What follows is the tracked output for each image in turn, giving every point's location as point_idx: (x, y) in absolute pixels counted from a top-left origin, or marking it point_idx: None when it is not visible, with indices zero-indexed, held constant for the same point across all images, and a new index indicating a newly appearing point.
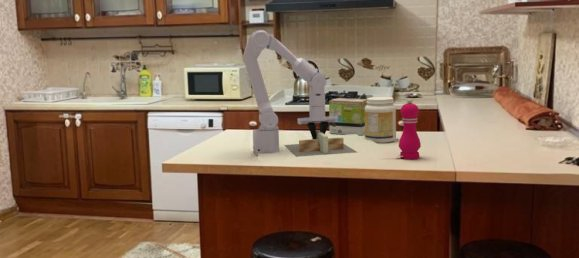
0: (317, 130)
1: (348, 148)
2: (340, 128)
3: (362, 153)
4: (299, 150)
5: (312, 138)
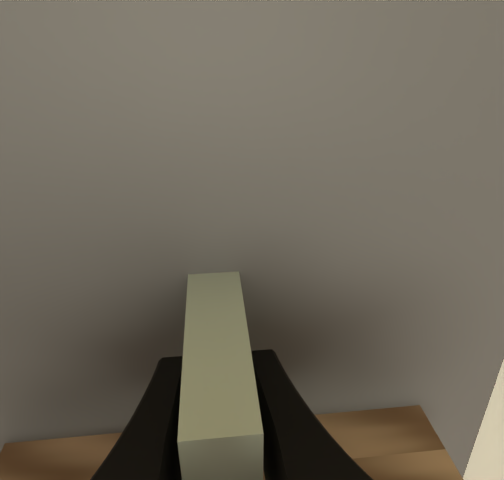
0: (246, 437)
1: (460, 419)
2: None
3: (490, 471)
4: (3, 459)
5: (146, 398)
